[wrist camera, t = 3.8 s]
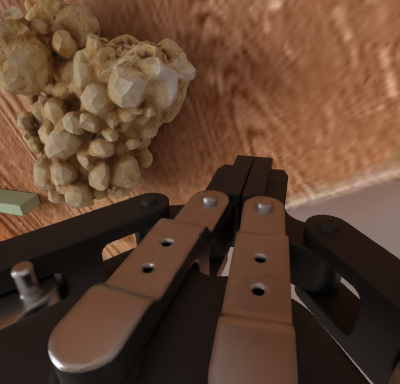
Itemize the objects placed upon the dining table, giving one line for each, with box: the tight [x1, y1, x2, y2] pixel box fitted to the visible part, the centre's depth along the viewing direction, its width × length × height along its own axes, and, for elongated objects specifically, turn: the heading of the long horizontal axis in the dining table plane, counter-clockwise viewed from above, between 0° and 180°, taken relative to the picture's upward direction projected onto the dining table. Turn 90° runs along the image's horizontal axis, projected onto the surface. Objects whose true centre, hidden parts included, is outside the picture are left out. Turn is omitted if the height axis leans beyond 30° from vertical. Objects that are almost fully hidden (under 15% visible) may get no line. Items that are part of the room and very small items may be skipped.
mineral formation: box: [0, 0, 196, 208], centre depth 23 cm, size 8×13×15 cm
